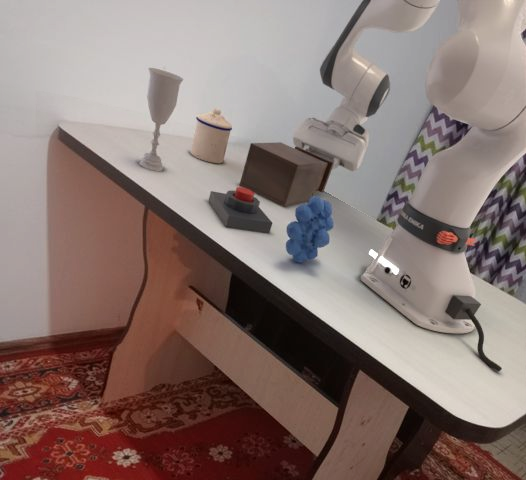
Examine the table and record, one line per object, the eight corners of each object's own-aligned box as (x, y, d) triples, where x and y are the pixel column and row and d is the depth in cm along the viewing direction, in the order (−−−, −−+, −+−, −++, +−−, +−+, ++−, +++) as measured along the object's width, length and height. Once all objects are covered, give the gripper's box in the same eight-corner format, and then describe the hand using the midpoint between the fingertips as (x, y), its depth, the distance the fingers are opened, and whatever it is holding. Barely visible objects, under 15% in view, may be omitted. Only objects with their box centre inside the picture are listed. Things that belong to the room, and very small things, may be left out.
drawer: (294, 174, 129) (303, 146, 125) (329, 190, 126) (340, 162, 122) (263, 179, 115) (273, 147, 111) (302, 197, 112) (313, 165, 108)
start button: (254, 204, 88) (257, 195, 87) (237, 201, 86) (239, 192, 85) (248, 197, 90) (250, 188, 89) (231, 194, 89) (233, 185, 88)
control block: (269, 233, 88) (275, 213, 86) (225, 227, 84) (231, 206, 82) (248, 208, 96) (254, 189, 94) (208, 201, 92) (212, 181, 90)
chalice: (163, 175, 97) (179, 81, 87) (131, 165, 96) (144, 68, 86) (170, 167, 103) (186, 78, 93) (139, 157, 102) (152, 66, 92)
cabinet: (269, 180, 119) (280, 142, 114) (310, 200, 116) (324, 161, 111) (239, 185, 108) (250, 143, 103) (284, 207, 104) (298, 164, 99)
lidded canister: (230, 166, 119) (242, 118, 113) (199, 162, 114) (210, 111, 107) (207, 149, 126) (217, 104, 120) (178, 145, 121) (187, 96, 114)
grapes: (295, 279, 75) (321, 208, 68) (266, 259, 78) (289, 189, 71) (335, 270, 83) (362, 206, 76) (307, 252, 86) (331, 190, 79)
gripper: (307, 106, 125) (280, 144, 123) (374, 134, 120) (346, 174, 117) (308, 124, 131) (282, 160, 129) (372, 151, 126) (345, 189, 123)
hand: (313, 167), depth 123 cm, fingers closed on drawer, 5 cm apart
